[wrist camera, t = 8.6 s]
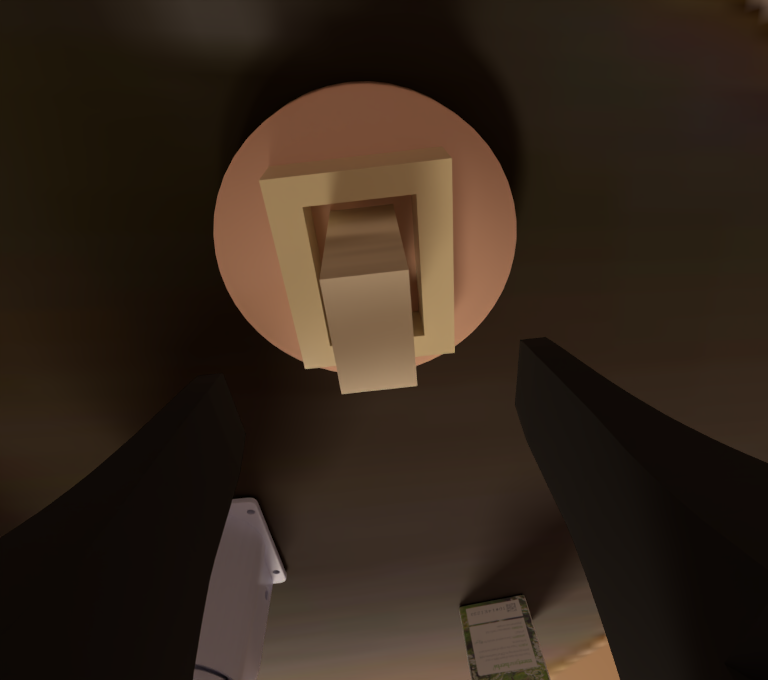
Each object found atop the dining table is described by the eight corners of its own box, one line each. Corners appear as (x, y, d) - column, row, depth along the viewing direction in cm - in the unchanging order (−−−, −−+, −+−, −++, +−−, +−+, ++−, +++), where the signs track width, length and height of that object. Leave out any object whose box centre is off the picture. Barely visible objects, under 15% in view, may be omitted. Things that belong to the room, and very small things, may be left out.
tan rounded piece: (497, 336, 23) (521, 386, 20) (264, 362, 23) (249, 416, 20) (510, 62, 16) (550, 67, 13) (185, 100, 16) (141, 114, 13)
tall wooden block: (401, 297, 19) (416, 385, 14) (345, 303, 19) (341, 394, 14) (392, 203, 17) (408, 269, 12) (329, 210, 17) (319, 279, 12)
